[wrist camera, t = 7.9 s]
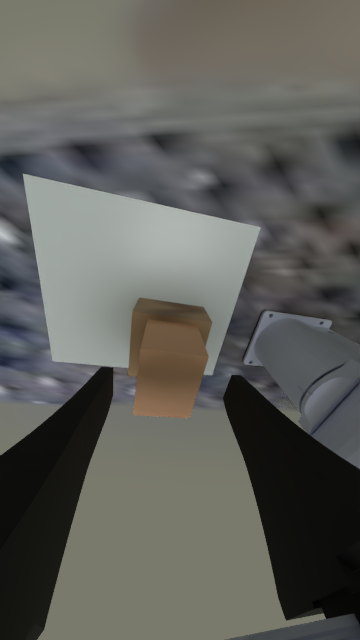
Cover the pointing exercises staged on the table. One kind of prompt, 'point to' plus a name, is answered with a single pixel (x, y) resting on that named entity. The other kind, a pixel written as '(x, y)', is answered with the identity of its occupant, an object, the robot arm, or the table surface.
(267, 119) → the table surface
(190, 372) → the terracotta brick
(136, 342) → the walnut block
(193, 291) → the baseplate
